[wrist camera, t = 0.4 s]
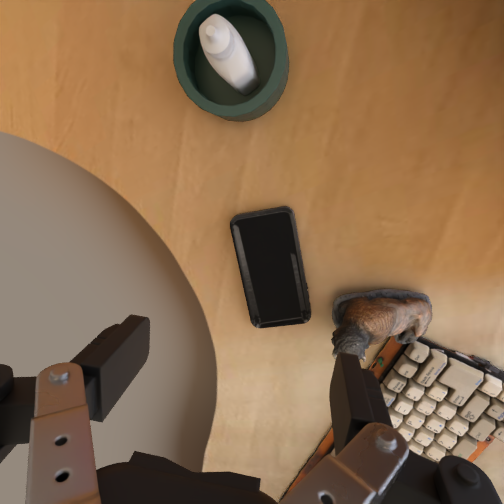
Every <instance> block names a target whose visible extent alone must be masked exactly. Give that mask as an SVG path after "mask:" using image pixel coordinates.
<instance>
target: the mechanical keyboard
mask: <svg viewBox="0 0 504 504" xmlns="http://www.w3.org/2000/svg"><path fill="white" fill-rule="evenodd" d="M375 363H377V364H376V366H375V367H374V368H372V367H373V365H374V364H375ZM368 370H370V371H371V372H372V373H373V374H374V375H375V377H376V378H377V379H378V381H379V384H380V387H381V391H382V393H383V396H384V400H385V403H386V406H387V409H388V412H389V415H390V418H391V421H392V424H393V427H394V429H395V430H397V431H398V432H399V433H400V434H401V435H402V436H403V437H404V438H405V439H406V441H407V443H408V446H409V449H410V450H412V451H413V452H415V453H417V454H419V455H421V456H423V457H425V458H427V459H429V460H432V461H434V462H436V463H438V464H439V461H440V459H441V458H442V457H444V456H448V455H454V456H458V457H462V458H464V459H466V460H468V461H470V462H473V461H474V460H475V459H476V458H477V457H478V456H479V455H480V454H481V453H482V451H483V450H484V449H485V448H486V447H487V446H488V445H489V444H490V443H492V442H493V440H494V438H497V439H499V440H500V441H502V442H504V371H501V370H499V369H497V368H495V367H494V366H492V365H491V364H490V362H489V361H483V360H481V359H479V358H477V357H475V356H472V357H471V356H470V357H468V356H466V355H464V354H462V353H461V354H459V352H456V351H455V353H454V352H452V351H450V350H448V349H446V348H444V347H441V346H439V345H437V344H435V343H433V342H431V341H429V340H426V339H424V338H422V337H420V336H419V338H418V339H417V340H416V341H415V342H413V343H407V344H401V343H397V342H396V340H395V338H394V336H391V337H390V340H389V341H388V342H387V344H386V345H385V346H384V348H383V349H382V350H381V352H380V353H379V354H378V356H377V358H376V359H375V360H374V362H373V363H372V365H371V366H370V368H369V369H368ZM487 438H489V440H487ZM328 454H331V455H332V456H334V457H336V455H335V446H334V436H333V427H332V428H331V429H330V431H329V432H328V434H327V435H326V437H325V439H324V440H323V441H322V443H321V444H320V445H319V447H318V449H317V450H316V452H315V453H314V455H313V456H312V457H311V458H310V459H309V460H308V461H307V464H306V465H305V466H304V468H303V469H301V471H300V472H299V475H298V476H297V478H296V479H295V481H294V482H293V483H292V484H291V485H290V487H289V489H288V490H287V492H286V493H285V494H284V496H283V497H282V499H283V498H284V497H285V496H286V495H287V494H288V493H289V492H290V491H291V490H292V489H293V488H294V487H295V486H296V485H297V484H298V483H299V482H300V481H301V480H302V479H303V478H304V477H305V476H306V475H307V474H308V473H309V472H310V471H311V470H312V469H313V468H314V467H315V466H316V465H317V464H318V463H319V462H320V461H321V460H322V459H323V458H324V457H325V456H326V455H328ZM282 499H281V500H282Z"/></svg>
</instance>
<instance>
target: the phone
mask: <svg viewBox="0 0 504 504" xmlns="http://www.w3.org/2000/svg"><path fill="white" fill-rule="evenodd" d="M230 229H231V233H232V238H233V242H234V247H235V252H236V256H237V261H238V265H239V270H240V274H241V279H242V283H243V288H244V292H245V297H246V301H247V306H248V310H249V315H250V320H251V323H252V324H253V326H255V327H257V328H268V327H277V326H286V325H295V324H303V323H306V322H308V321H309V320H310V318H311V309H310V302H309V294H308V291H307V289H308V287H307V283H306V280H305V274H304V268H303V262H302V256H301V250H300V244H299V238H298V232H297V227H296V221H295V215H294V212H293V210H292V209H291V208H290V207H287V206H282V207H277V208H271V209H265V210H260V211H254V212H249V213H243V214H238V215H236V216H235V217H233V218H232V220H231V222H230Z"/></svg>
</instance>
